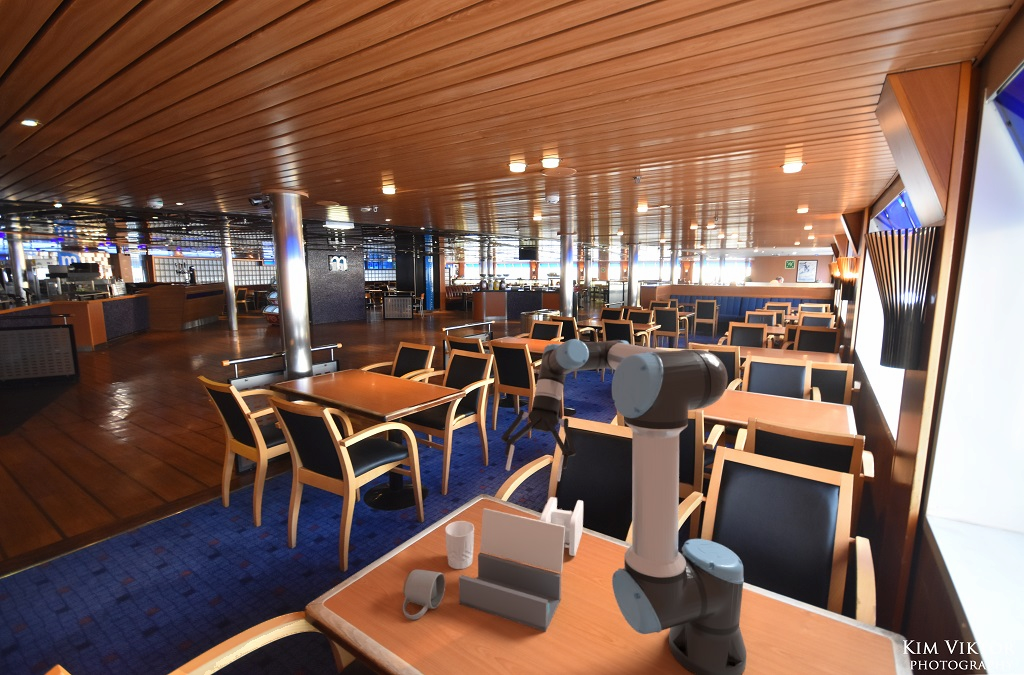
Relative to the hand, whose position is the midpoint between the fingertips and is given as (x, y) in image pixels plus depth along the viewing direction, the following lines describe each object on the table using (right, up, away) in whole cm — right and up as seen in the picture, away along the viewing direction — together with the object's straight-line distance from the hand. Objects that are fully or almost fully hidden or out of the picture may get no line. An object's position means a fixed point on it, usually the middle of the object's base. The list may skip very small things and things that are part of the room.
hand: (532, 475), depth 125 cm
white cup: (-20, -26, +6) cm, 33 cm away
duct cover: (-3, -15, -6) cm, 16 cm away
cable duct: (-6, -28, -10) cm, 30 cm away
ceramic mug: (-27, -28, -11) cm, 41 cm away
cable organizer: (+9, -25, +14) cm, 30 cm away
